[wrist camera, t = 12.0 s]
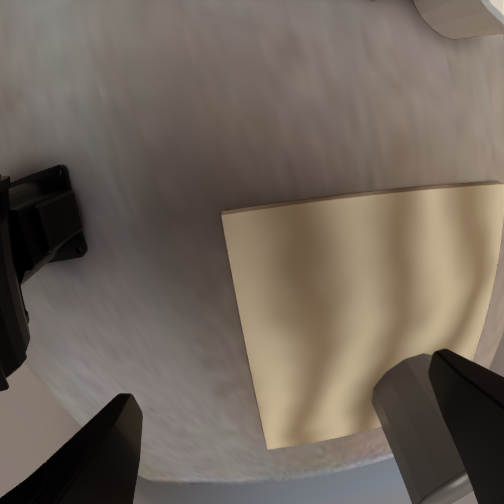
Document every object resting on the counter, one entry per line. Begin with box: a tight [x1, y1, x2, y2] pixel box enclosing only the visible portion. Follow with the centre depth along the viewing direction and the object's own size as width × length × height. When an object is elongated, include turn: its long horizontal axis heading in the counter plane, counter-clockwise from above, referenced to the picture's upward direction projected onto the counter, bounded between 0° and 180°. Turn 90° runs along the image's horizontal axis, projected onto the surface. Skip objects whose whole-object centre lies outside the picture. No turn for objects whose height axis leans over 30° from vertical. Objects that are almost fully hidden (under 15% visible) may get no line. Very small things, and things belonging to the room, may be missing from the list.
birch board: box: [221, 181, 504, 449], centre depth 23 cm, size 22×24×1 cm
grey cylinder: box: [371, 353, 473, 504], centre depth 19 cm, size 7×7×12 cm
